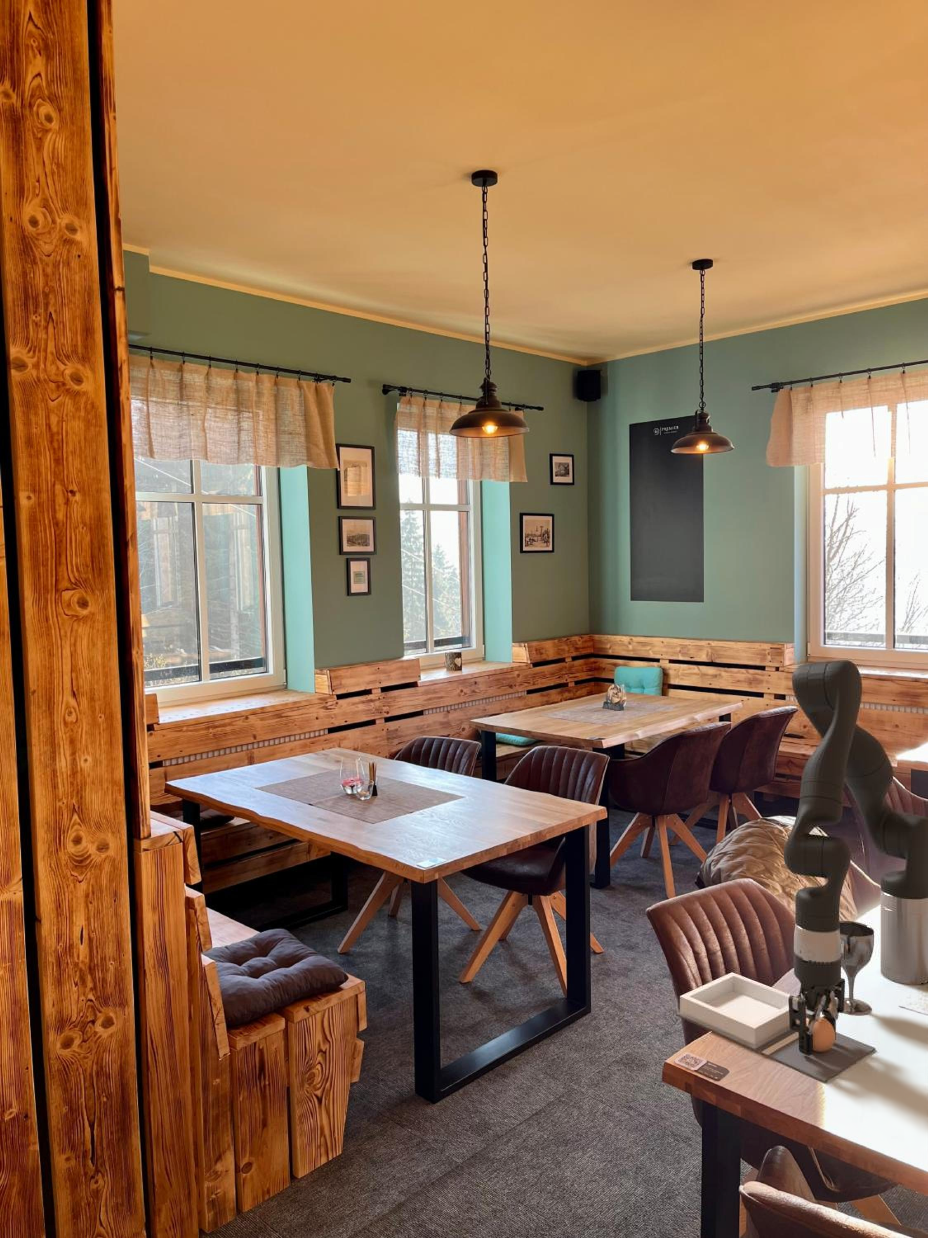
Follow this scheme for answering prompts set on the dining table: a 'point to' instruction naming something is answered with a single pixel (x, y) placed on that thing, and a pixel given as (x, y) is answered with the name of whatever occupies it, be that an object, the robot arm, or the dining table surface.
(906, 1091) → the dining table surface
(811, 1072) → the mat
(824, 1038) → the ball
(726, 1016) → the tray
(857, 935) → the wine glass
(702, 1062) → the dining table surface
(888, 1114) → the dining table surface
